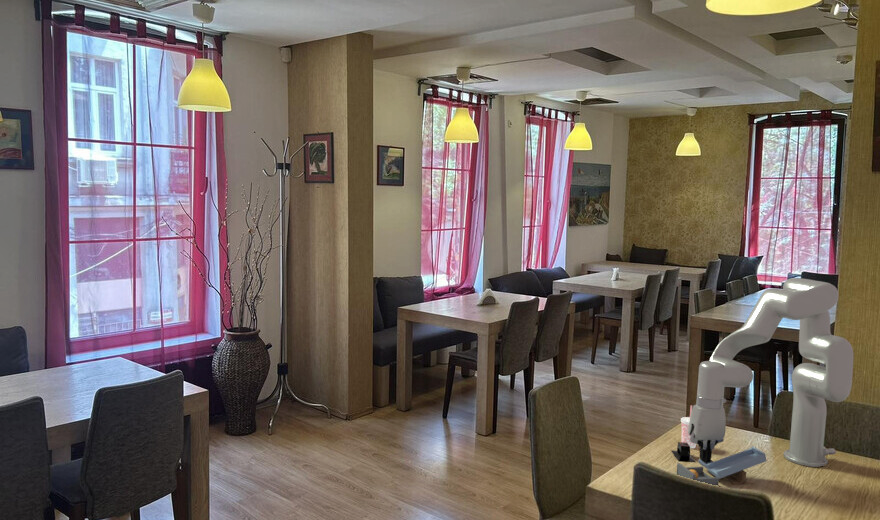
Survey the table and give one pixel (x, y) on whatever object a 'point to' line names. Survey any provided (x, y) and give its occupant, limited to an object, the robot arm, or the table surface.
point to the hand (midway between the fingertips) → (705, 460)
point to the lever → (735, 462)
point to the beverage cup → (686, 430)
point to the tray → (701, 475)
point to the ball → (694, 473)
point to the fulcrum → (738, 478)
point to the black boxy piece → (683, 452)
